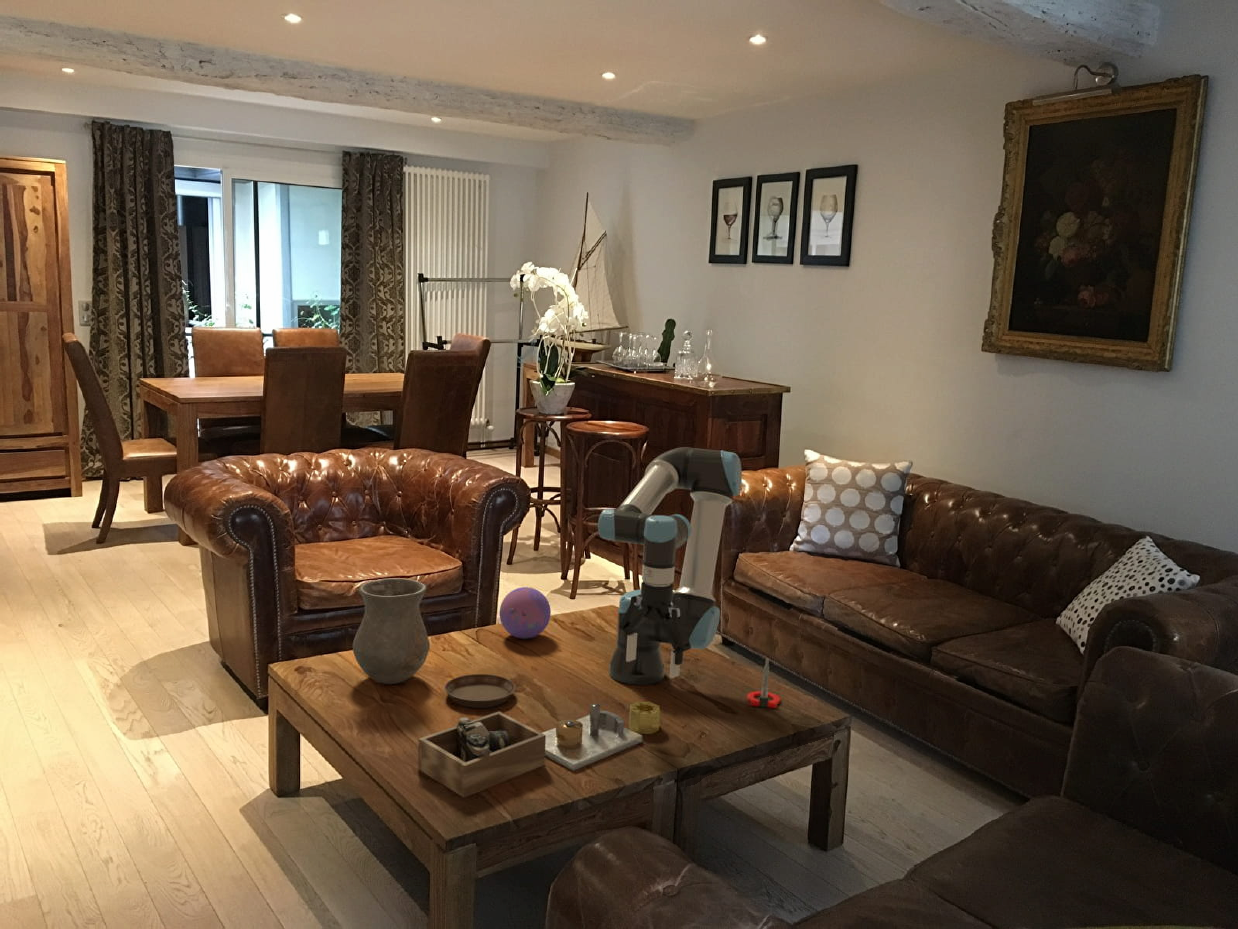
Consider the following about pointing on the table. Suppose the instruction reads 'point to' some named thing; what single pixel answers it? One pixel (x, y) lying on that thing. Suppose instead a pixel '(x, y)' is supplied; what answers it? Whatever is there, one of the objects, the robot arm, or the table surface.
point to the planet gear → (644, 717)
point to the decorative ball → (525, 612)
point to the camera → (478, 740)
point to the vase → (391, 630)
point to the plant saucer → (479, 690)
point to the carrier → (588, 738)
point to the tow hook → (764, 693)
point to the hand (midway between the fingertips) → (652, 668)
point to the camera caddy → (487, 770)
